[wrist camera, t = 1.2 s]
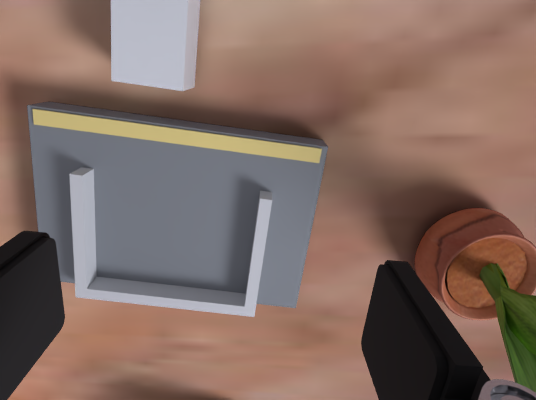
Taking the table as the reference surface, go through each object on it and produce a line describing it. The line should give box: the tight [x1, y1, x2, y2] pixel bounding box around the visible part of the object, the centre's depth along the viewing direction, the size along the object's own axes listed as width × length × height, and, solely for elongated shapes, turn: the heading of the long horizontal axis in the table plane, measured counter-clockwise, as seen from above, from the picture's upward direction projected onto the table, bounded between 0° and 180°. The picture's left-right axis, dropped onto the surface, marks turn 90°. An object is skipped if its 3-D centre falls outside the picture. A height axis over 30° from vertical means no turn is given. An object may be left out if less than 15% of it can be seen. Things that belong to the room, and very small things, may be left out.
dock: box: [27, 102, 328, 317], centre depth 32 cm, size 16×24×5 cm, turn 82°
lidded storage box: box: [111, 0, 200, 91], centre depth 26 cm, size 8×5×8 cm, turn 172°
